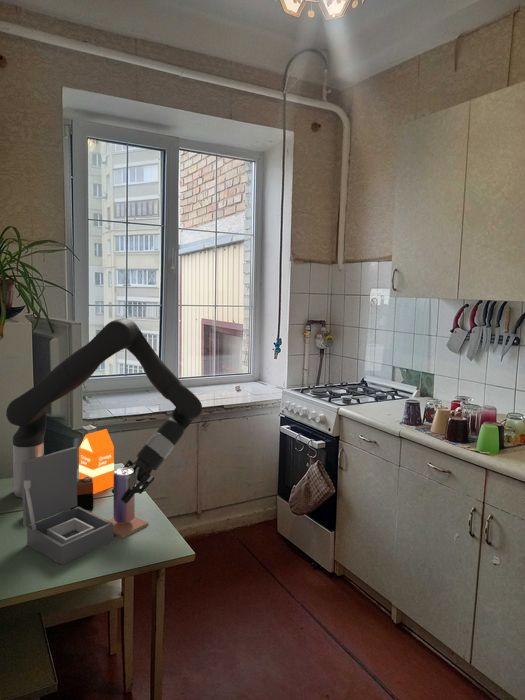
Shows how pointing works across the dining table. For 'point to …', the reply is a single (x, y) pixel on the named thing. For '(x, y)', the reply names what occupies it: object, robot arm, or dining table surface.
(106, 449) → the orange juice
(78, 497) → the battery
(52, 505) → the equipment case
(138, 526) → the mat
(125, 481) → the beverage can
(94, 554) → the dining table surface
